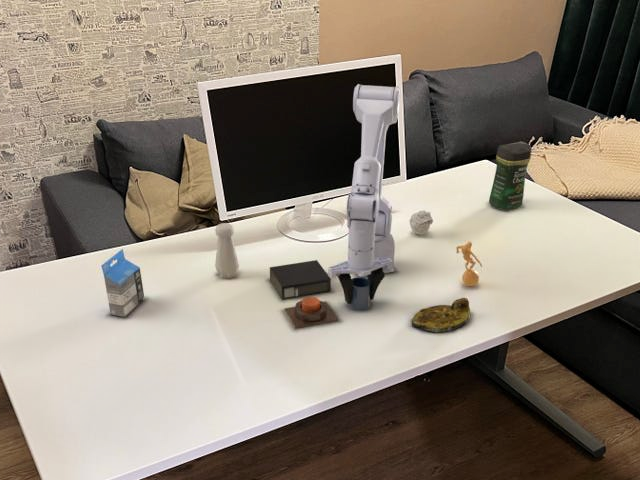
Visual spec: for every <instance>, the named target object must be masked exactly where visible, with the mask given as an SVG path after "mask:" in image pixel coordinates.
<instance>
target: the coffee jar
mask: <svg viewBox="0 0 640 480" xmlns="http://www.w3.org/2000/svg"><path fill="white" fill-rule="evenodd" d="M495 159H496V168H495V173H494V178H493V182H492V186H491V190H490V194H489V197H488V198H489V199H488V203H489V205H490V206H491V207H492V208H493V209H498V210H501V211H508V210H509V211H510V210H514V209H517V208H520V207H522V205H523V203H524V202H523V201H524V195H525V194H524V193H525V185H526V183H525V182H526V175H527V169H528V165H529V163H530V161H531V159H532V147H531V144H529V143H526V142H524V141H518V142H513V143H512V142H511V143H508V144H500V145H499V146H498V148H497V151H496V156H495Z"/></svg>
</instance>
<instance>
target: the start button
mask: <svg viewBox="0 0 640 480" xmlns="http://www.w3.org/2000/svg"><path fill="white" fill-rule="evenodd" d="M301 300H302V310H304V311H306V312H315V311H318V310H319V309H320V301H321V300H320V298H318V297H315V296H307V297H306V296H305V297H304V298H303V299H301Z"/></svg>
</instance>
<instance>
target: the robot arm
mask: <svg viewBox="0 0 640 480" xmlns="http://www.w3.org/2000/svg"><path fill="white" fill-rule="evenodd" d="M400 100H401V89H400V88H399V86H383V85H366V84H365V85H363V84H361V83H360V84H359V83H358V84H357V85H356V86H354V90H353V97H352V110H353V113H354V115H355V118H356V120H357V122H358V123H360V124H361V144H360V145H361V146H360V147H361V148H360V151H361V152H360V157H359V158H358V159H357V160H356V161H355V162H354V166H353V173H352V182H351V189H350V194H348V195H347V200H346V210H345V211H346V213H345V214H346V219H347V224H346V225H347V229H348V236H347V237H348V238H347V239H348V240H347V241H348V242H347V260H345V261H343V262H341V263H337V264H335V265H332V266H328V269H327V274H328V276H329V277H330V278H331V280H332V279H335V278H336V277H337V278H338V280H339V283H340V285H341V287H342V292H343V295H344V300H345V302H346V304H347V305H348V304H351V301H352V287H353V283H354V281H353V280H352V276H351V275H354V274H356V275H357V277H363V278H367V279H369V280H370V281H371V290H370V301H373V300H374V298H375V295H376V292H377V290H378V288H379V285H380V284H381V283H382V281H383V280H384V279H385V277H386V276H385V275H386V274H388V273H394V272H395V271H396V270H395V268H394V265H395V253H396V251H395V250H396V245H395V240H394V236H393V234H392V233H391V231H392V224H393V223H392V222H393V213H392V212H393V206H392V204H391V202H390V201H388V200H387V199H386V198H385V197H384V196H383V195H382V192H383V180H384V179H383V178H384V165H385V154H386V153H385V151H386V139H387V138H386V137H387V132H388V129H389V127H390V125H393V124H396V123H397V122H398V119H399V111H400V102H401V101H400Z"/></svg>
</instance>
